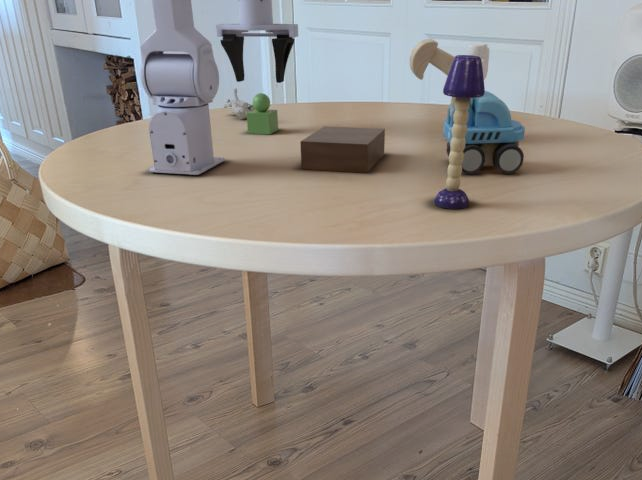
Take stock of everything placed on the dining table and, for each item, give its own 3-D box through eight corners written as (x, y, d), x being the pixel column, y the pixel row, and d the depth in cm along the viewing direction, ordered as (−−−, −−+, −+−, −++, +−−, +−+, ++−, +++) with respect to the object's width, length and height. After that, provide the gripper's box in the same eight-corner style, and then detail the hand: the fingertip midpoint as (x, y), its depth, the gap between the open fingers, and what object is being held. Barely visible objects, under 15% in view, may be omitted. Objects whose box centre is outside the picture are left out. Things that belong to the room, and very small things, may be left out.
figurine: (443, 142, 113) (449, 45, 106) (456, 132, 121) (463, 41, 113) (485, 145, 111) (494, 46, 103) (496, 134, 118) (505, 42, 111)
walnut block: (367, 172, 95) (367, 144, 93) (301, 169, 98) (300, 141, 96) (384, 154, 105) (384, 128, 103) (324, 151, 108) (323, 126, 106)
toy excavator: (402, 162, 101) (407, 37, 92) (511, 160, 101) (526, 35, 93) (409, 176, 93) (415, 41, 85) (526, 174, 94) (544, 40, 85)
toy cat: (250, 118, 142) (278, 105, 132) (239, 136, 141) (267, 125, 131) (221, 93, 137) (248, 78, 128) (210, 111, 136) (237, 98, 127)
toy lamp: (469, 199, 83) (482, 53, 75) (477, 209, 79) (492, 57, 71) (431, 199, 83) (440, 54, 75) (437, 210, 79) (448, 58, 71)
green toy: (270, 134, 121) (267, 95, 118) (247, 133, 122) (244, 94, 119) (278, 130, 125) (276, 92, 121) (256, 129, 126) (254, 91, 122)
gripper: (302, -6, 114) (305, 79, 121) (224, -5, 117) (231, 77, 124) (289, -5, 108) (292, 84, 115) (207, -4, 111) (216, 82, 118)
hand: (260, 81), depth 119 cm, fingers open, 7 cm apart
